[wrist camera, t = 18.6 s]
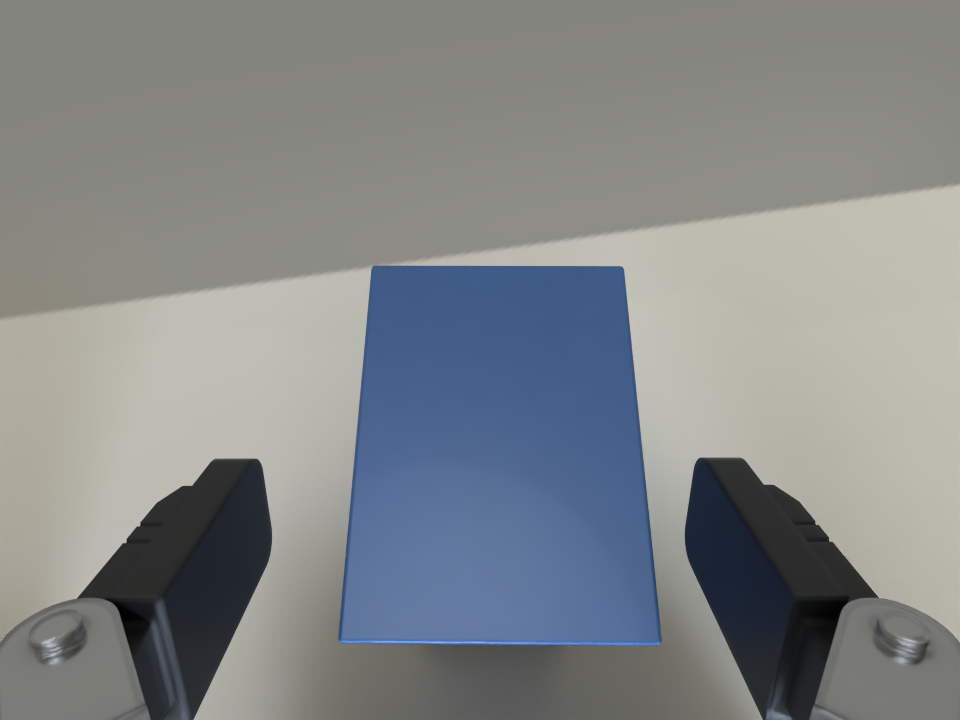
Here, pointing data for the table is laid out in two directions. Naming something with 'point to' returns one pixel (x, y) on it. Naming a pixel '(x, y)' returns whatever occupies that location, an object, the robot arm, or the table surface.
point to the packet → (499, 463)
